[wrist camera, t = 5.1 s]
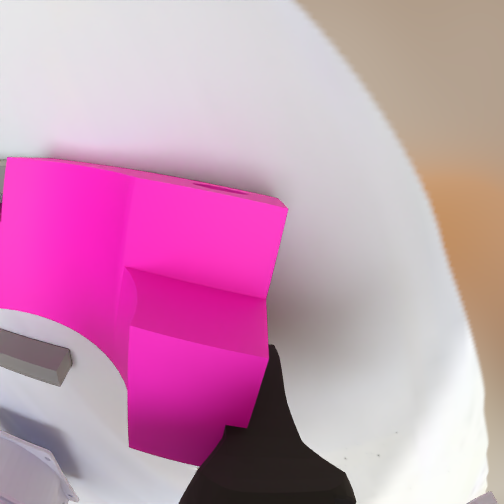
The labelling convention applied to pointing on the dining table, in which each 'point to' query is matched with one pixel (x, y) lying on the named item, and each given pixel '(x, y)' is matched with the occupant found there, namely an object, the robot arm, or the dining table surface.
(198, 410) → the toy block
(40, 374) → the channel
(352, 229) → the dining table surface
